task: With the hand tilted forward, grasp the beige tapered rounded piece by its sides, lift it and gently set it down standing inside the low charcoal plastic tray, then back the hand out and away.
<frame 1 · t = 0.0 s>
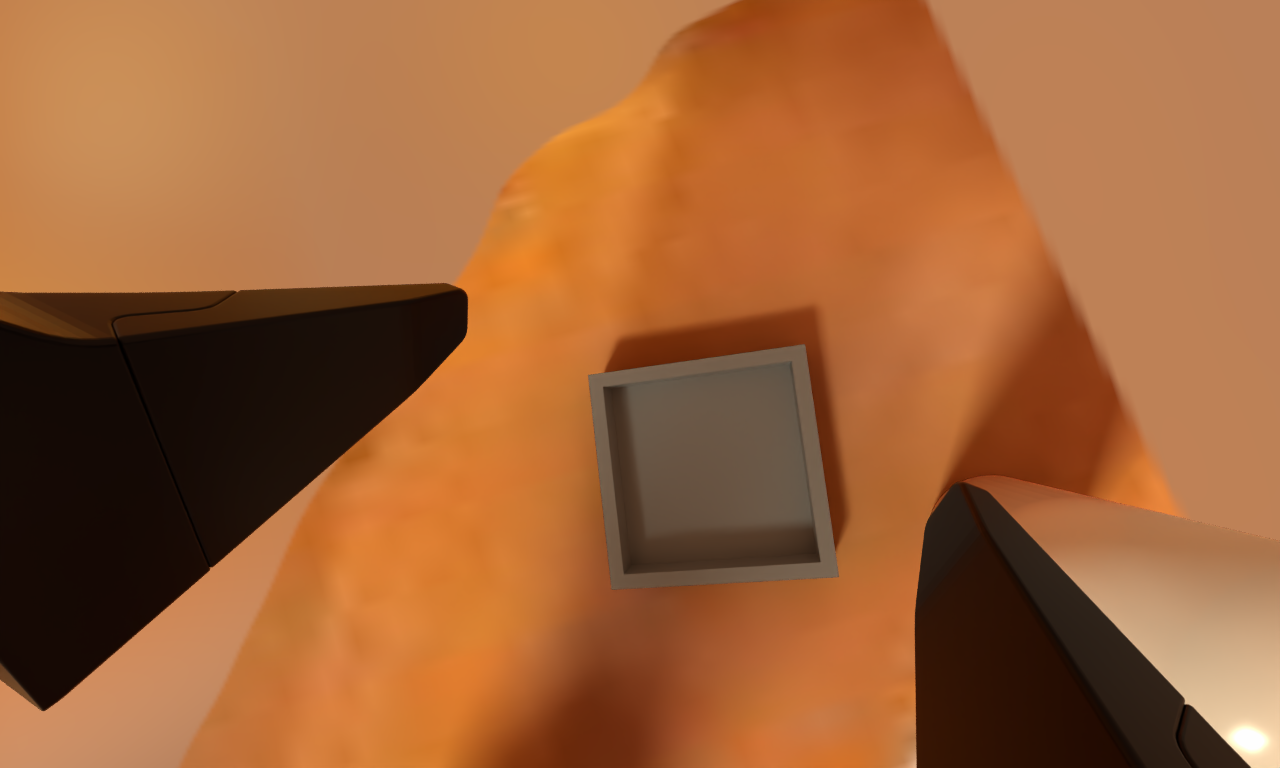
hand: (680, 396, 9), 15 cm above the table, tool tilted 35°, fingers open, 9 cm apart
tray: (709, 465, 24), on the table
beige tapered rounded piece: (995, 537, 21), on the table
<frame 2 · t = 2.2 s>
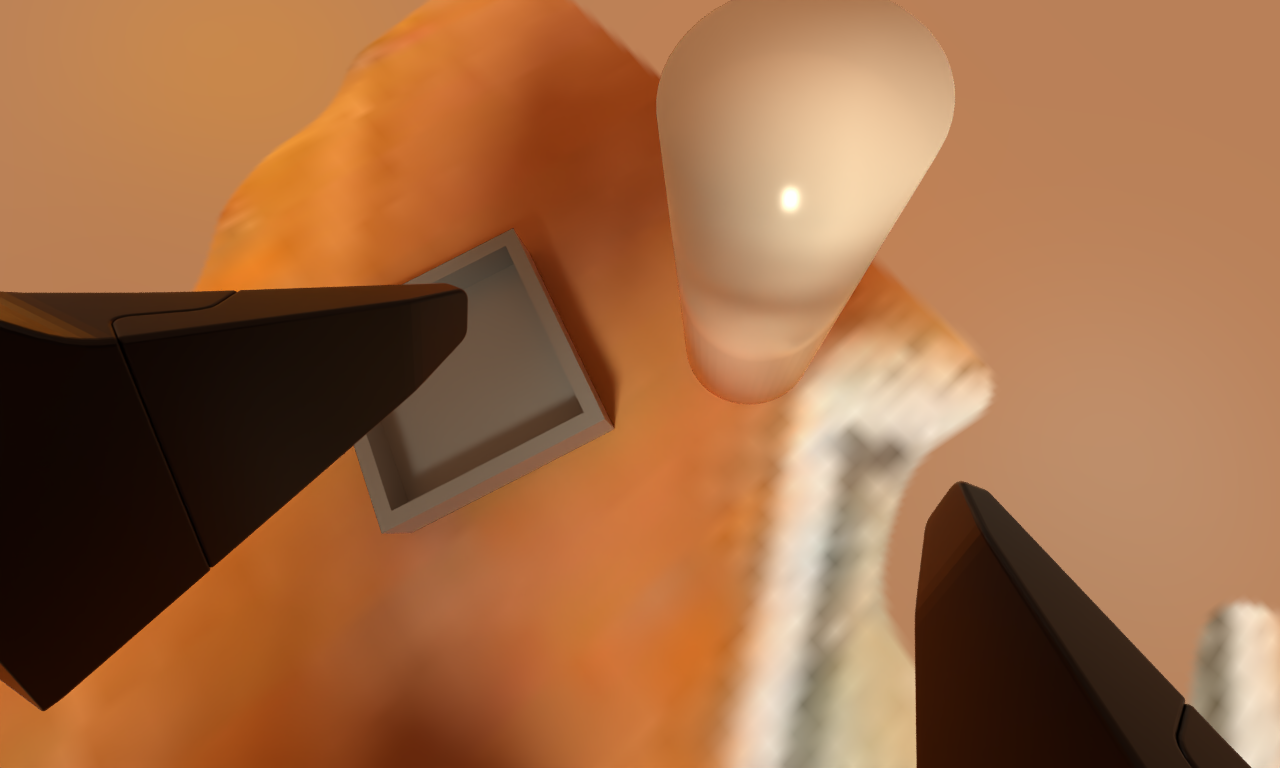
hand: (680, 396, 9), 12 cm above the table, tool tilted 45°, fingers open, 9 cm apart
tray: (473, 384, 23), on the table
beige tapered rounded piece: (747, 344, 22), on the table
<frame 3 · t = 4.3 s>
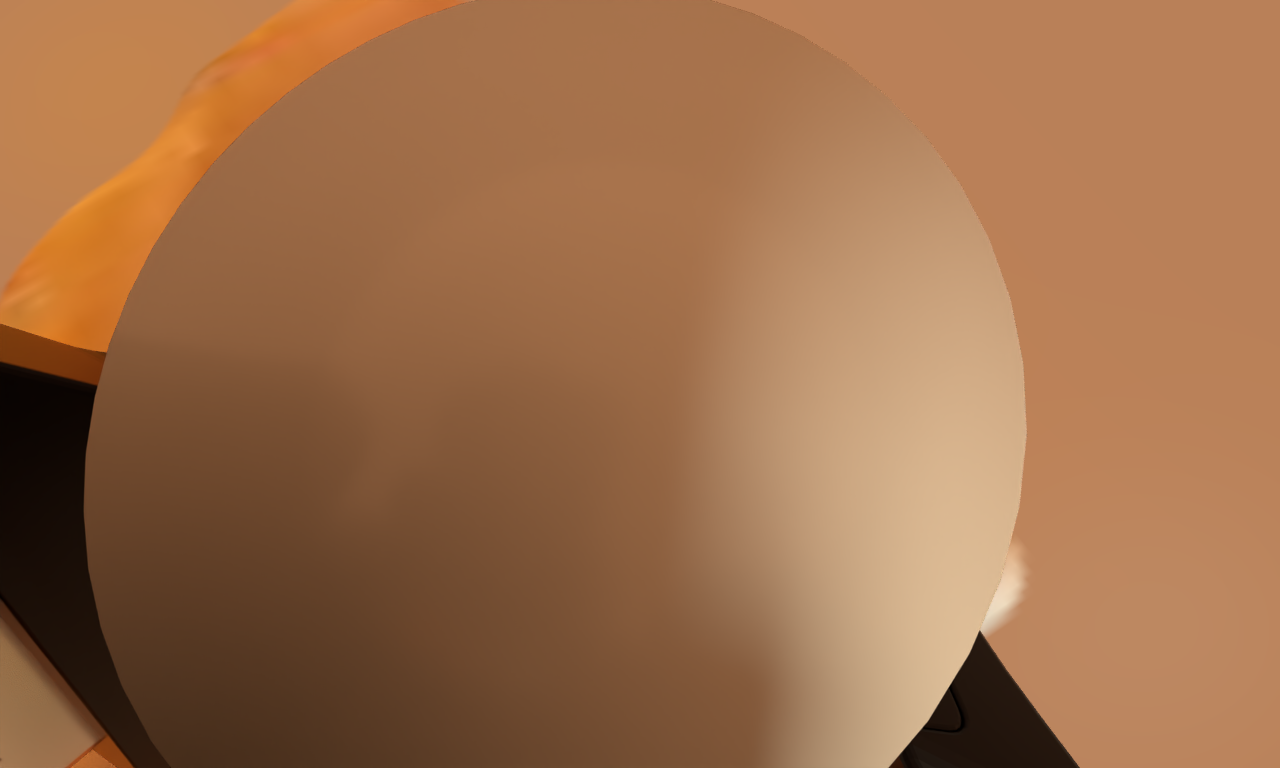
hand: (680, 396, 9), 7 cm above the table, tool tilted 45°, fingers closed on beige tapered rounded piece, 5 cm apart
beige tapered rounded piece: (674, 493, 15), on the table, touching gripper
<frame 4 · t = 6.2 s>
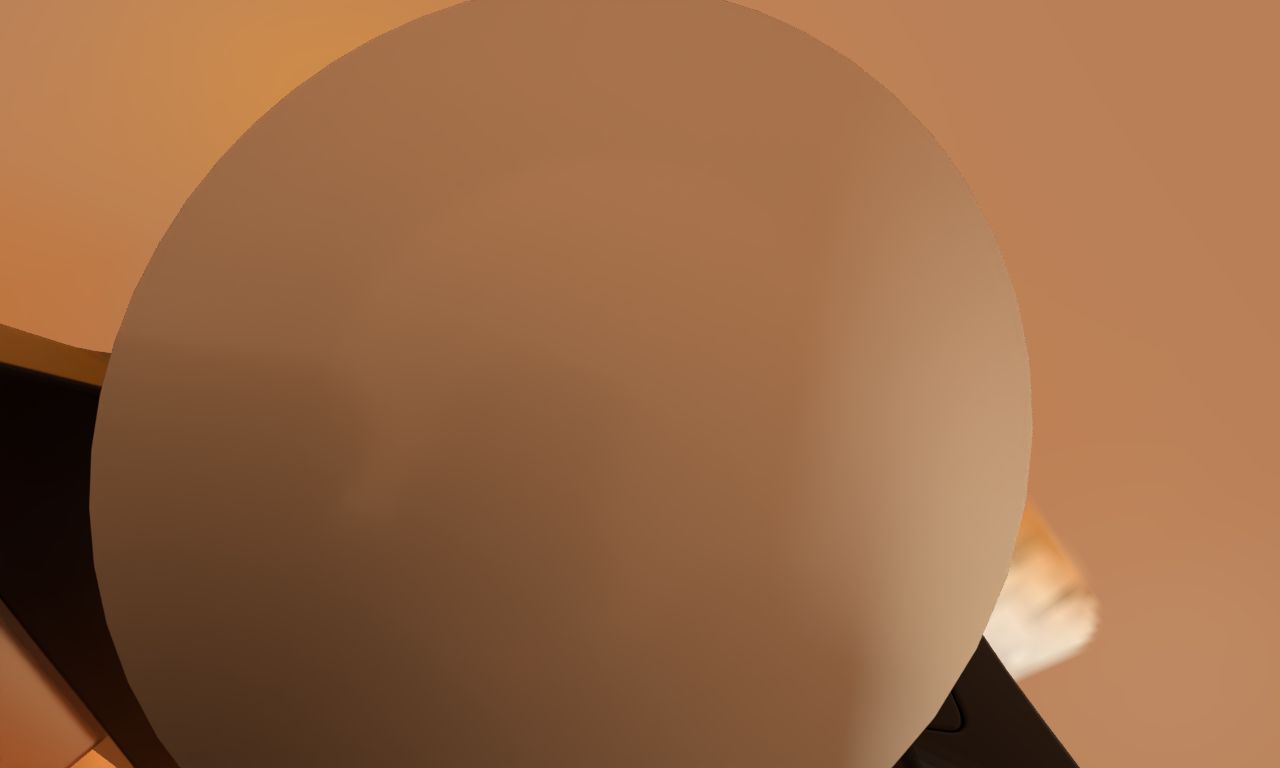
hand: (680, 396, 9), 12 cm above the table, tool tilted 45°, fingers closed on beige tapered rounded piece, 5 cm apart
beige tapered rounded piece: (675, 492, 15), point 6 cm above the table, touching gripper
when the fingers open (8 cm above the table, at t = 8.2 s): beige tapered rounded piece drops 1 cm, resting on tray.
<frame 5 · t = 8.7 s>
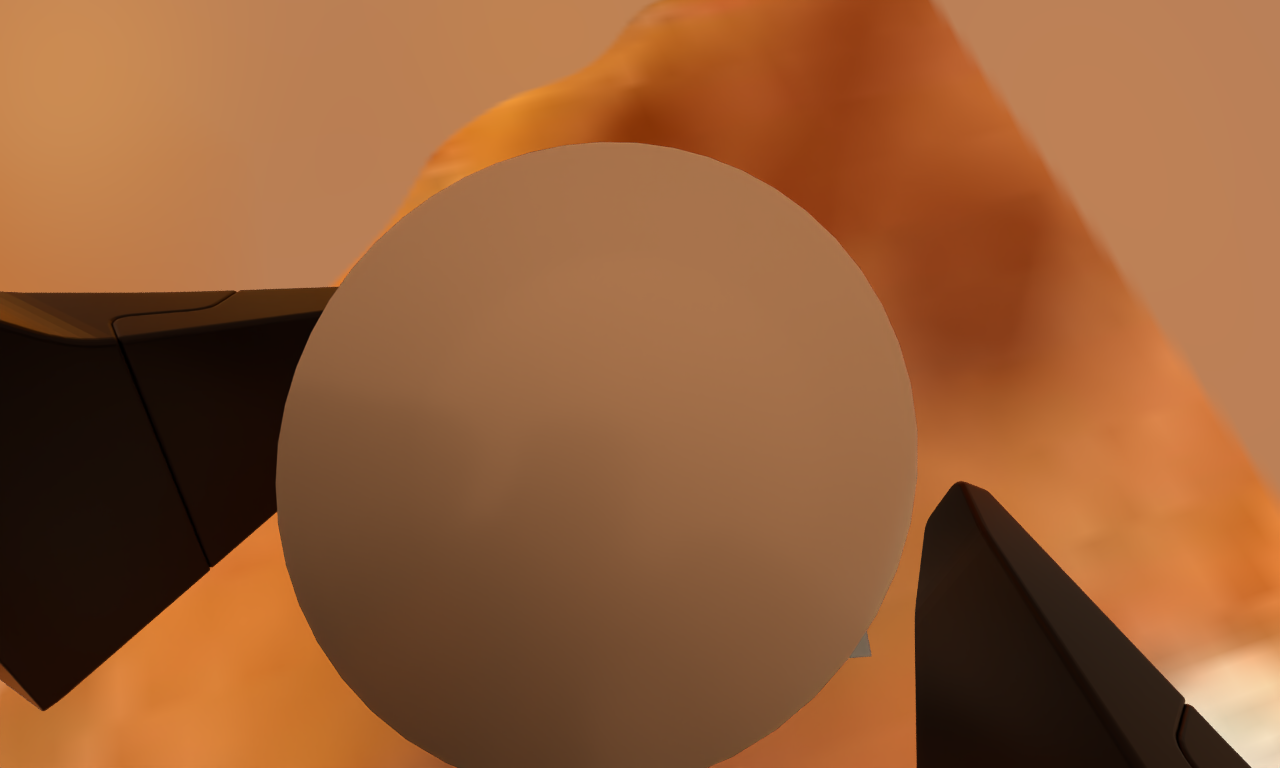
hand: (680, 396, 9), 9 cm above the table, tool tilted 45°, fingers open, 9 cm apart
tray: (678, 496, 17), on the table
beige tapered rounded piece: (676, 498, 17), point 1 cm above the table, touching tray
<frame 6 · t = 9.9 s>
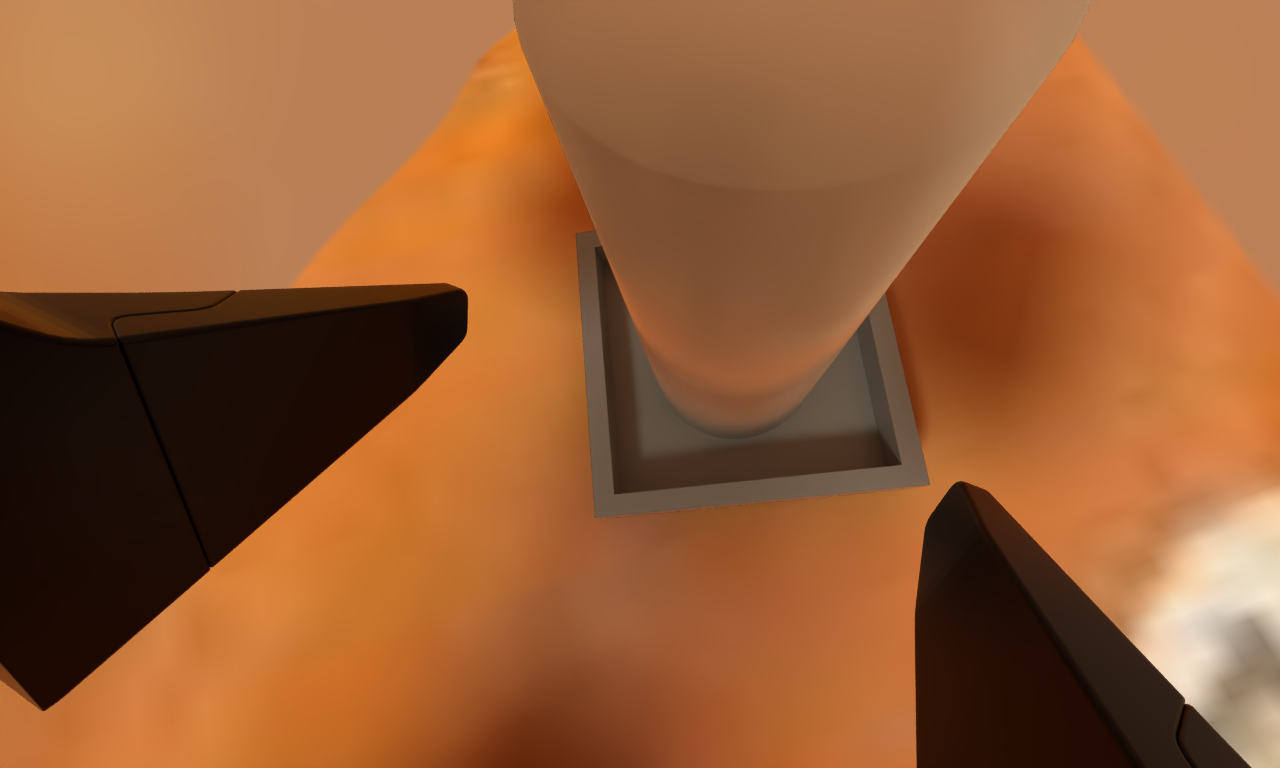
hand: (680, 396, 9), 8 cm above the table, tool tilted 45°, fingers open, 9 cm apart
tray: (731, 364, 18), on the table
beige tapered rounded piece: (732, 362, 17), point 1 cm above the table, touching tray
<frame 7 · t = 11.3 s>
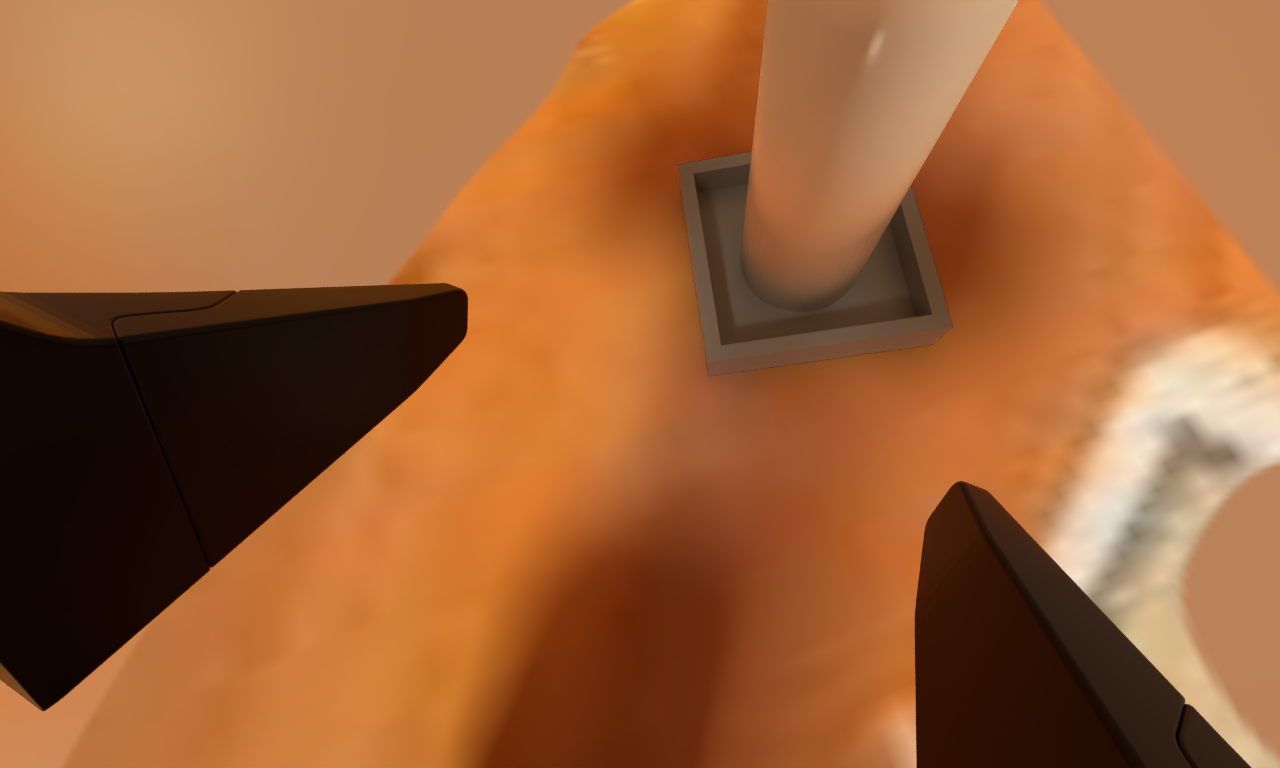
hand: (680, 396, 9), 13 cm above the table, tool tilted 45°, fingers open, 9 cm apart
tray: (797, 262, 23), on the table
beige tapered rounded piece: (799, 258, 23), point 1 cm above the table, touching tray
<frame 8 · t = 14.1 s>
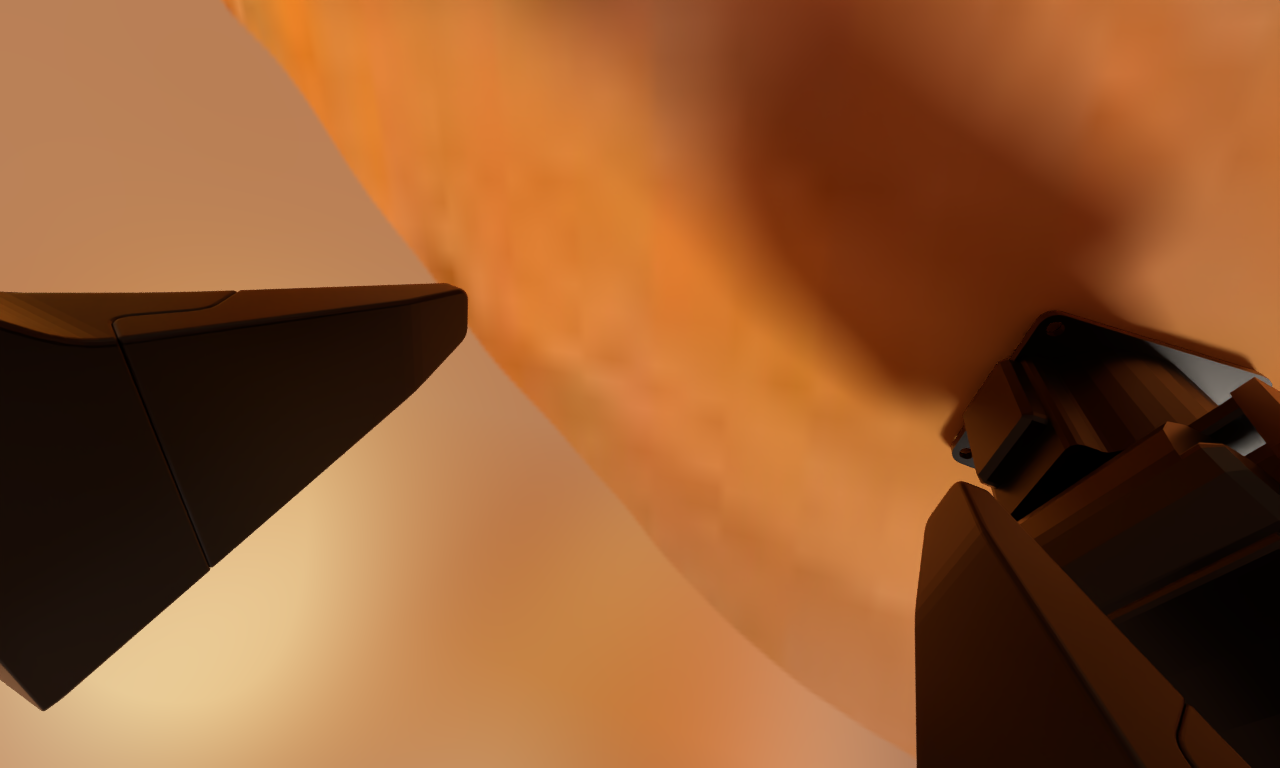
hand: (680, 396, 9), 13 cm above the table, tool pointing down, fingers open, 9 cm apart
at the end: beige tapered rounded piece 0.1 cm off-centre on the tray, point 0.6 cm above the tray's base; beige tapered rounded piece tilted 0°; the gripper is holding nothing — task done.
